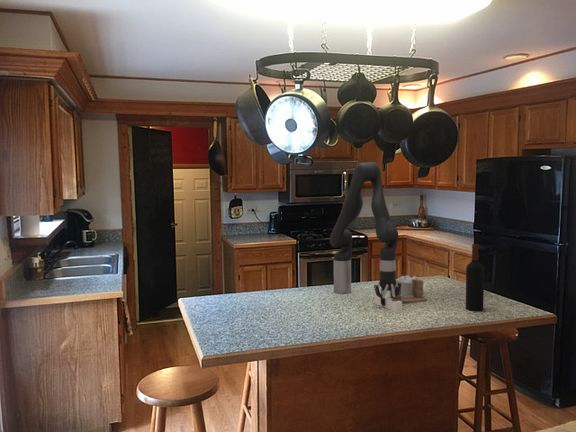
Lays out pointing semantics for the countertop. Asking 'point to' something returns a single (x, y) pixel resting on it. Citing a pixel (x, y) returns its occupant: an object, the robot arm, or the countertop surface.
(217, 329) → the countertop surface
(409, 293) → the paw print tray
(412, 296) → the stand
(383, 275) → the robot arm
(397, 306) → the frame bar
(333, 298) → the countertop surface
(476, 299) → the wine bottle
